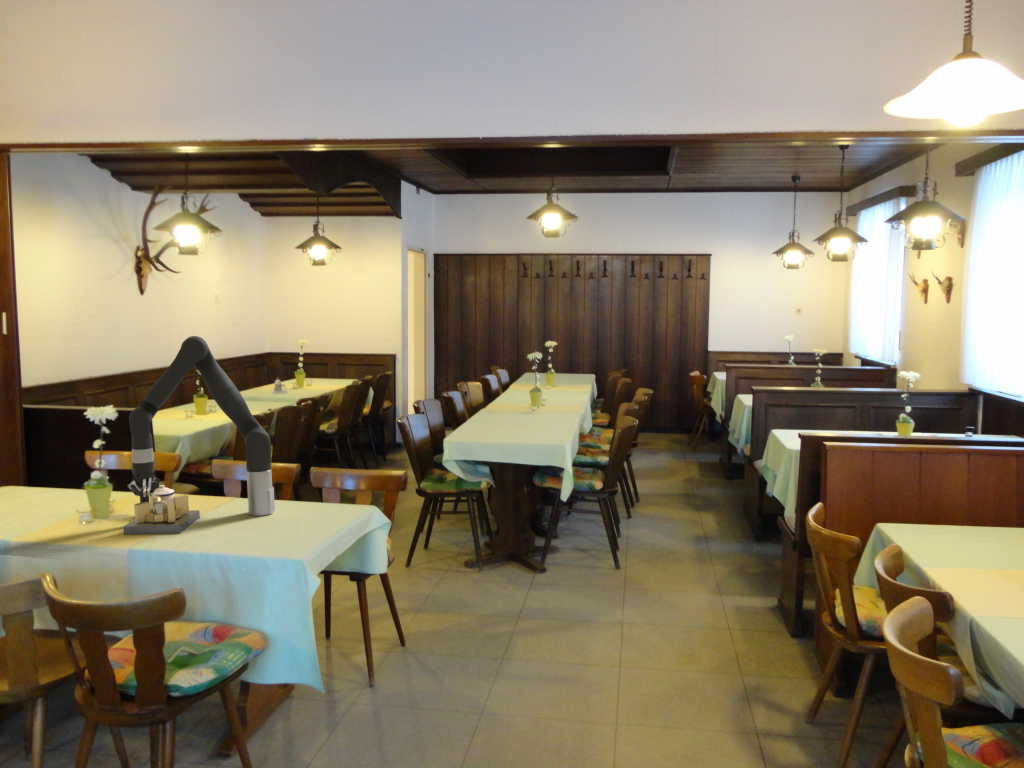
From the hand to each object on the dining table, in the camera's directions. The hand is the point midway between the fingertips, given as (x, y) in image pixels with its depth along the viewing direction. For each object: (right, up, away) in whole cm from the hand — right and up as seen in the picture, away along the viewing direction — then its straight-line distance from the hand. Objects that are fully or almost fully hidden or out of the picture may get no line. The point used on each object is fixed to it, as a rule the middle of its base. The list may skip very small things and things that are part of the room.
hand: (144, 505), depth 299 cm
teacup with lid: (+1, -6, +16) cm, 16 cm away
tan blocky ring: (+8, -4, -3) cm, 9 cm away
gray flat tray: (+8, -7, -2) cm, 11 cm away
